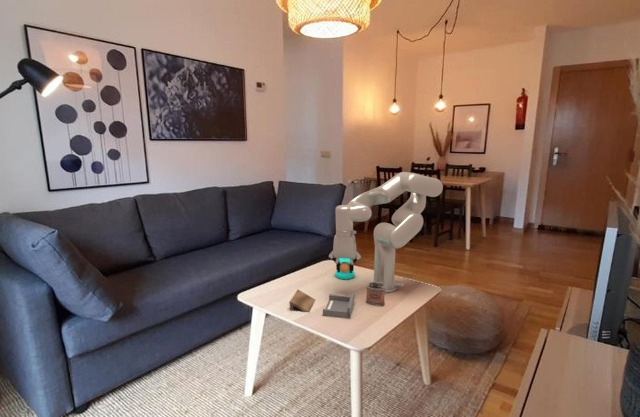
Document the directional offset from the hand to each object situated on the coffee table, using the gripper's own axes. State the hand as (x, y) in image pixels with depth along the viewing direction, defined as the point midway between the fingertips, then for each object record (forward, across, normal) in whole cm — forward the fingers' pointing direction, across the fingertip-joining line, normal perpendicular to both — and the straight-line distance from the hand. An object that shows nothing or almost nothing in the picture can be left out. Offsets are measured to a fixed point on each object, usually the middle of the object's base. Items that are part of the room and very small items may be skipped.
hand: (345, 271), depth 159 cm
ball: (+1, 0, 0) cm, 1 cm away
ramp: (+10, +16, +15) cm, 24 cm away
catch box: (+11, +1, +15) cm, 18 cm away
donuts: (+12, +3, -21) cm, 24 cm away
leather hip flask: (+12, -14, +7) cm, 19 cm away
